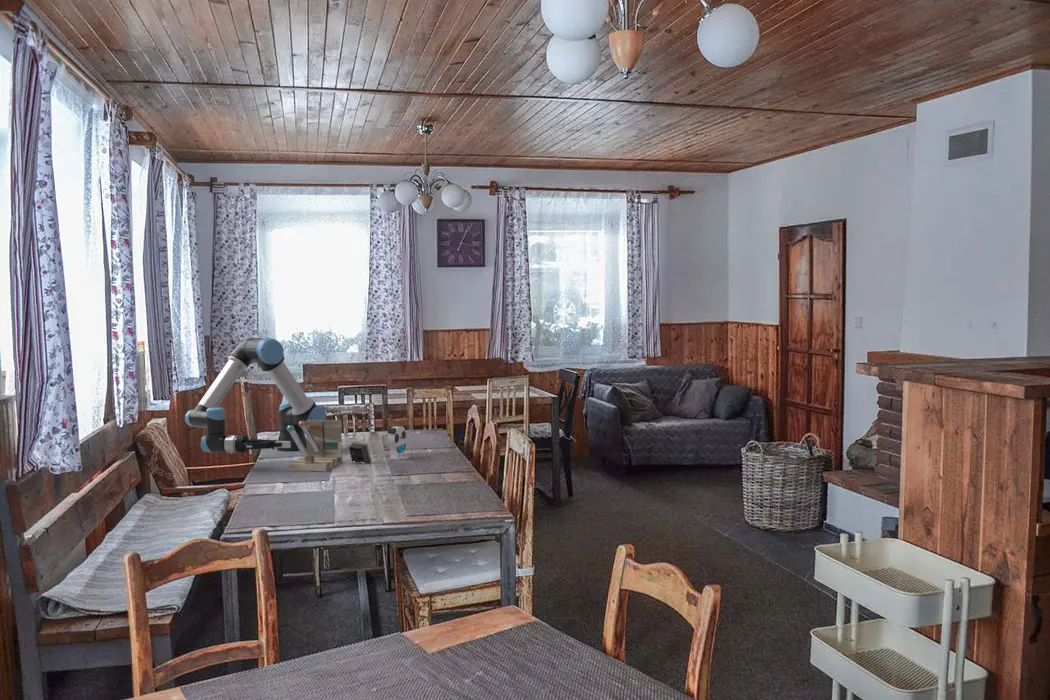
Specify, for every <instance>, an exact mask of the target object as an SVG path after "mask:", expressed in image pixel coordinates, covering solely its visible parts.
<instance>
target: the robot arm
mask: <svg viewBox="0 0 1050 700" xmlns="http://www.w3.org/2000/svg"><path fill="white" fill-rule="evenodd" d="M284 351H285V350H284V347H283V345H282V343H281V342H280V341H279V340H277V339H274V338H270V337H263V338H262V337H250V338H246V339H244V340H242V341H241V342H240V343H238V345H236V347H235V348H234V349H233V350H232V352H231V353H230V354H229V356H228V357H227V360H228V362H226V364H225V366H223V368H222V369H221V371H220V372H219V374H218V375H217V376H216V378H215V380H213V383H212V384H211V385H210V387H209V388H208V390H207V391H206V392H205V394H204V395H203V397H202V398H201V400H200V401H199V402H198V404H197V405H196V406H195V408H194V409H190V410H188V411H187V412H186V413H185V415H184V421H185V423H186V424H187V426H190V427H193V428H202V429H206V434H205V435H203V436H202V437H201V439H200V440H201V442H200V448H201V450H202V451H203V452H204V453H216V454H217V453H230V454H231V455H233V453H238V454H241V453H242V454H243V453H244V454H245V453H247V452H248V451H249V450H263V449H264V450H267V449H268V450H270V449H271V450H275V449H276V450H277V451H285V452H286V451H287V452H288V451H290V450H294V451H300V450H299V448H298V446H297V445H296V443H295V441H294V439H293V438H292V436H291V434H290V433H289V432H288V431H287V427H288V426H289V425H293V426H294V428H295V431H296V433H297V435H298V436H299V438H300V440H301V442H302V443H303V445H304V447H305V448H306V449H307V437H306V435H305V433H304V431H303V430H302V428H301V427H300V426H299V422H300V421H305V422H306V420H327V412H326V410H325V408H324V407H323V406H320V405H318V404H317V403H316V402H315V400H314V399H313V398H312V397H308V396H307V395H306V393H305V392H304V390H303V389H302V387H301V385H300V384H299V383H298V381H297V380H296V378H295V377H294V375H293V374H292V372H291V371H290V369H289V368H288V366H287V365H286V363H285V362H284V361H285V356H284V355H285V353H284ZM252 364H257V366H259V368H260V369H261V370H262V371H263V372H264V373H267V374H268V375H269V376H270V378H271V379H272V380H273V382H274V384H275V385H276V386H277V388H278V390H280V392H281V393H282V395H283V396H284V398H285V400H286V401H287V402H284V403H281V404H280V405H279V406H278V419H279V420H278V421H279V424H278V425H279V434H278V439H276V438H275V439H262V438H259V439H256V438H252V439H250V438H249V436H248V435H243V434H242V435H241V434H239V435H237V434H226V415H225V409H224V408H223V407H220V406H219V405H220V404H221V402H222V401H223V400H224V398H225V397H226V396H227V393H228V392H229V390H230V389H231V388H232V386H233V385H234V383H235V382H236V380H237V379H238V378H239V376H240V375H241V373H242V372H243V371H246V370H247V369H248V368H249V366H250V365H252ZM218 406H219V407H218Z"/></svg>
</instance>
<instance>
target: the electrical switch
mask: <svg viewBox="0 0 1050 700" xmlns="http://www.w3.org/2000/svg"><path fill="white" fill-rule="evenodd" d="M348 450H349V454H350V457H351V462H352V463H355V462H360V461H361V462H364V463H365V464H367V463H368V462H370V463H371V462H372V457H371V453H370V449H369V445H368V443H367V442H358V441H353V442H351V445H349V446H348ZM353 461H355V462H353Z"/></svg>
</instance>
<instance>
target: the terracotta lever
mask: <svg viewBox="0 0 1050 700" xmlns="http://www.w3.org/2000/svg"><path fill="white" fill-rule="evenodd" d="M299 426H300V427H301V428H302V430H303V431H304V434H305V437H306V436H307V437H306V439H307V438H308V440H309V442H310V443H311V445H312V447H313V449H314V450H315V452H316V451H321V449H320V448H319V446H318V444H317V443H316V441H315V439H314V437H313V436H312V434H311V432H310V431H309V429H308V427H307V425H306V422H305V421H300V422H299Z"/></svg>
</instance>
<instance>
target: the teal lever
mask: <svg viewBox="0 0 1050 700" xmlns="http://www.w3.org/2000/svg"><path fill="white" fill-rule="evenodd" d="M287 431H288V432H289V433H290V434H291V436H292V438H293V439H294V441H295V443H296V445H297V446H298V448H299V450H298V451H299V452H300V454H301V455H302V457H304V458H305V457H310V455H309V454H308V452H307V448H305V447H304V445H303V443H302V442H301V440H300V438H299V436H298V435H297V433H296V431H295V428H294V426H293V425H289V426H288V427H287Z"/></svg>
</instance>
